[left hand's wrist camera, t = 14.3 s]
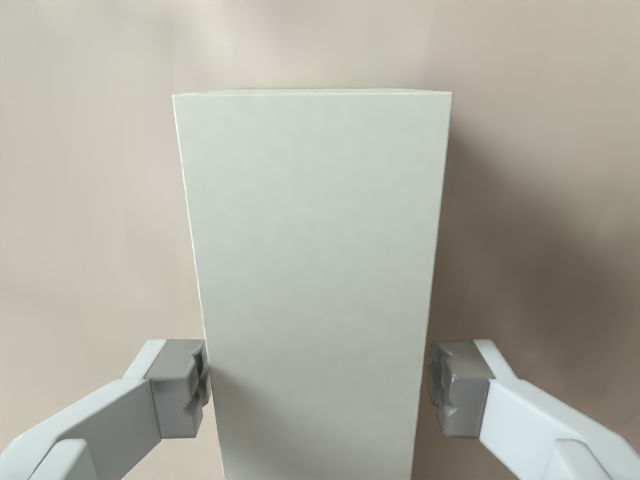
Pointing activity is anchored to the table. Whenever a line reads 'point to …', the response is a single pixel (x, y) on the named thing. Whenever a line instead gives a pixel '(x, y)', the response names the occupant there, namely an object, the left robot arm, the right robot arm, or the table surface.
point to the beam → (315, 271)
